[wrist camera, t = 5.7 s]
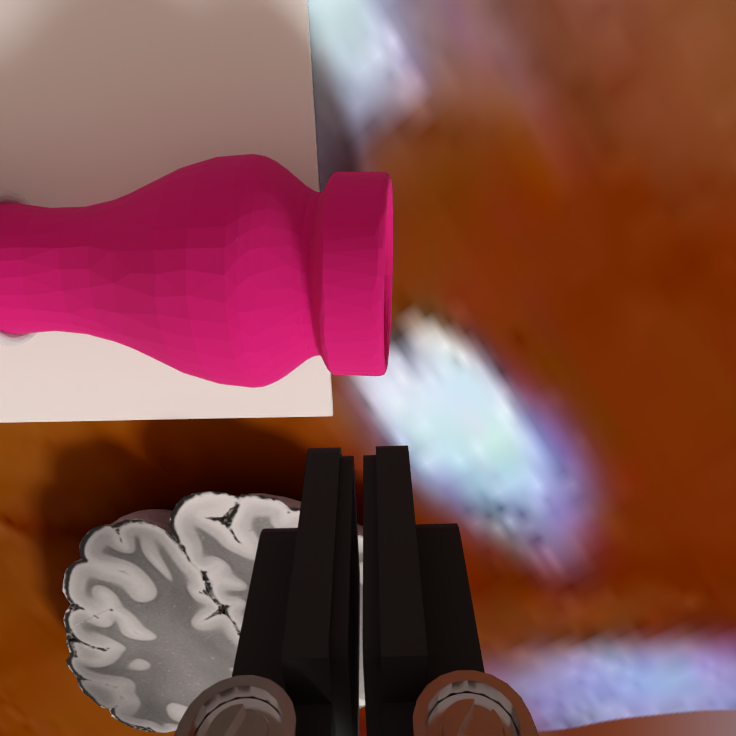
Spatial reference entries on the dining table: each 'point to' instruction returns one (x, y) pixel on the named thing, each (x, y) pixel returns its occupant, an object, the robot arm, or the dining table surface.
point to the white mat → (146, 168)
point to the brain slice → (168, 602)
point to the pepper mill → (212, 270)
